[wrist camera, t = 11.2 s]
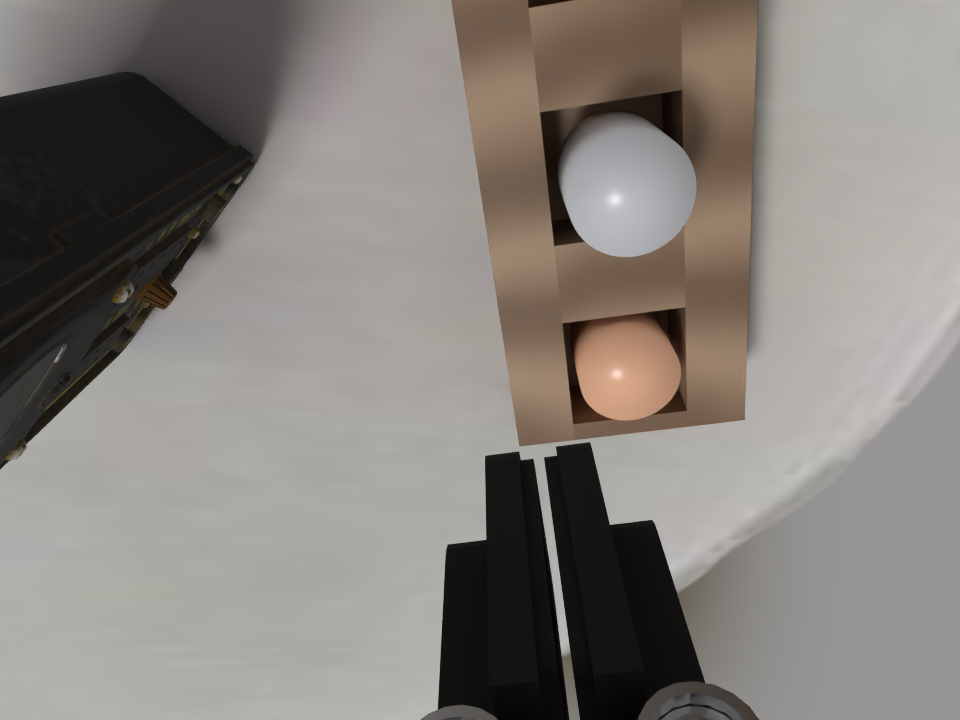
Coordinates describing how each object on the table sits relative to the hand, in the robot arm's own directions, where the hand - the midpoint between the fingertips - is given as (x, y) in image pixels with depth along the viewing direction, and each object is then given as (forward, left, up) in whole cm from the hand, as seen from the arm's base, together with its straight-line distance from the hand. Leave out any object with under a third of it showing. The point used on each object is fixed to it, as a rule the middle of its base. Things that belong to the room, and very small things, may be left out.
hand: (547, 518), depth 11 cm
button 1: (+10, +5, -26) cm, 28 cm away
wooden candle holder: (0, +5, -27) cm, 28 cm away
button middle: (0, +5, -23) cm, 24 cm away
